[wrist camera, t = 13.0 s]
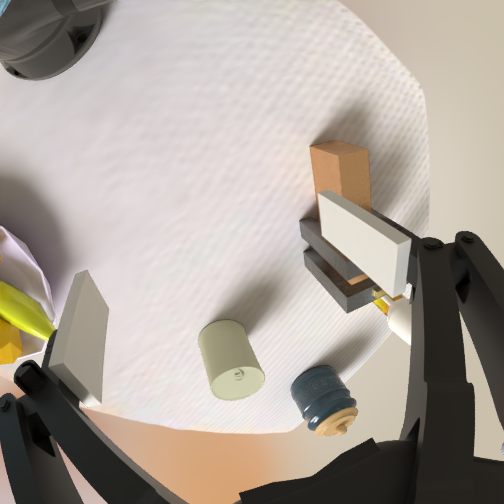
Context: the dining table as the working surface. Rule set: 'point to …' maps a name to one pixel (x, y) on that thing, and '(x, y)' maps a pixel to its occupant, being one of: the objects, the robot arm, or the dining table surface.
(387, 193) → the dining table surface
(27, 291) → the fruit bowl
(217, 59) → the dining table surface
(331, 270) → the collar
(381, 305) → the supplement bottle
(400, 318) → the champagne flute
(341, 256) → the collar
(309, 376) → the canister
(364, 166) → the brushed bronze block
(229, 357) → the can
